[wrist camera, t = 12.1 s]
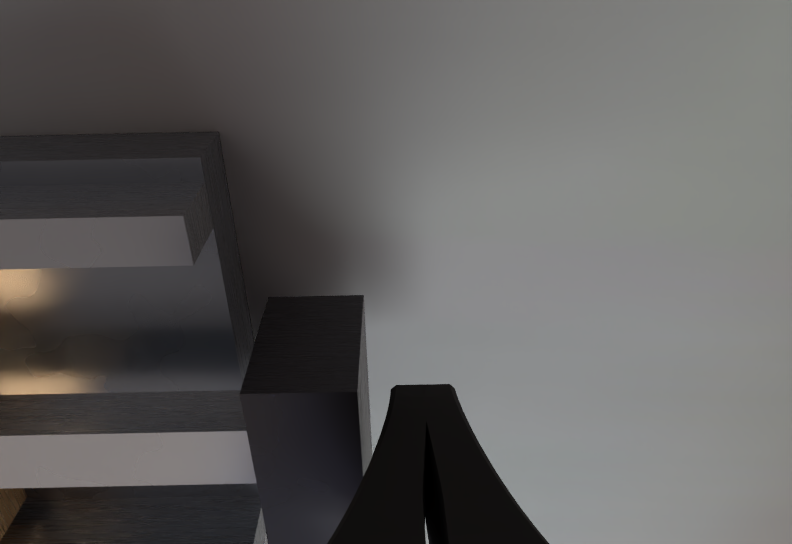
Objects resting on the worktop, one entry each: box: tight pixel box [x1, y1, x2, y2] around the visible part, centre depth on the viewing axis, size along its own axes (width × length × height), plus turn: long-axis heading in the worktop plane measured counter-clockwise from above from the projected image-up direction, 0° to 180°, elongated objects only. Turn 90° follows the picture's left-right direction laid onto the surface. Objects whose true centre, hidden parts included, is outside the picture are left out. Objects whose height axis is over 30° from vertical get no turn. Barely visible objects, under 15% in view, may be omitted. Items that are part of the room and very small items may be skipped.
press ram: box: [0, 295, 372, 544], centre depth 13 cm, size 7×12×3 cm, turn 91°
